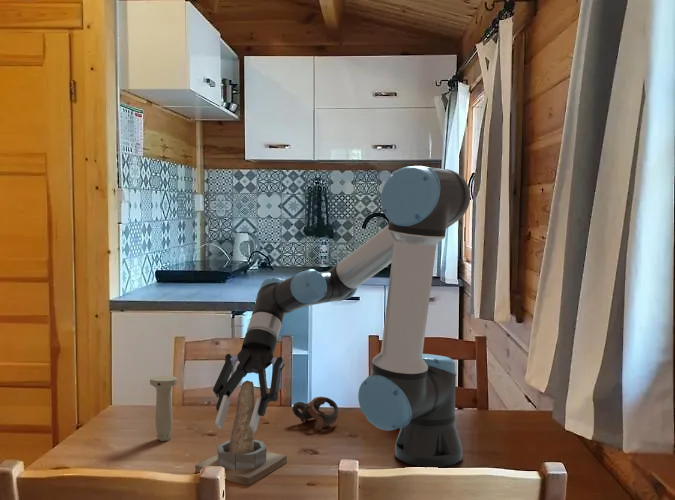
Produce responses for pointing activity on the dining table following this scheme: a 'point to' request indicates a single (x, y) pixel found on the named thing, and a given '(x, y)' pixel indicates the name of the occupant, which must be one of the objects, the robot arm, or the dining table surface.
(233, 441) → the tapered stone pillar
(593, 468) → the dining table surface
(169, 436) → the handle
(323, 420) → the dark twisted loops
